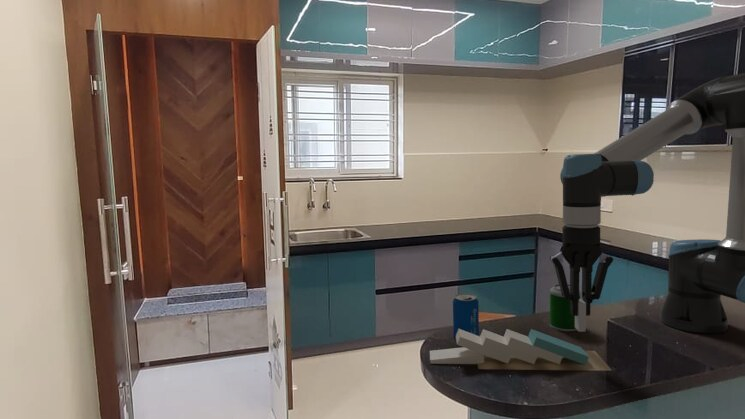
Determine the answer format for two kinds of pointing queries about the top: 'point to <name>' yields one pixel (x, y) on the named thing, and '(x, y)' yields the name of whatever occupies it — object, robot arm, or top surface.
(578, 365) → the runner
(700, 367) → the top surface
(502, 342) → the tile
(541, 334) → the head tile
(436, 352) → the tile
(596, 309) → the top surface
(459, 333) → the tile
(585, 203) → the robot arm
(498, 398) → the top surface
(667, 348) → the top surface
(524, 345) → the tile
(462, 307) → the beverage can
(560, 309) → the soda can
